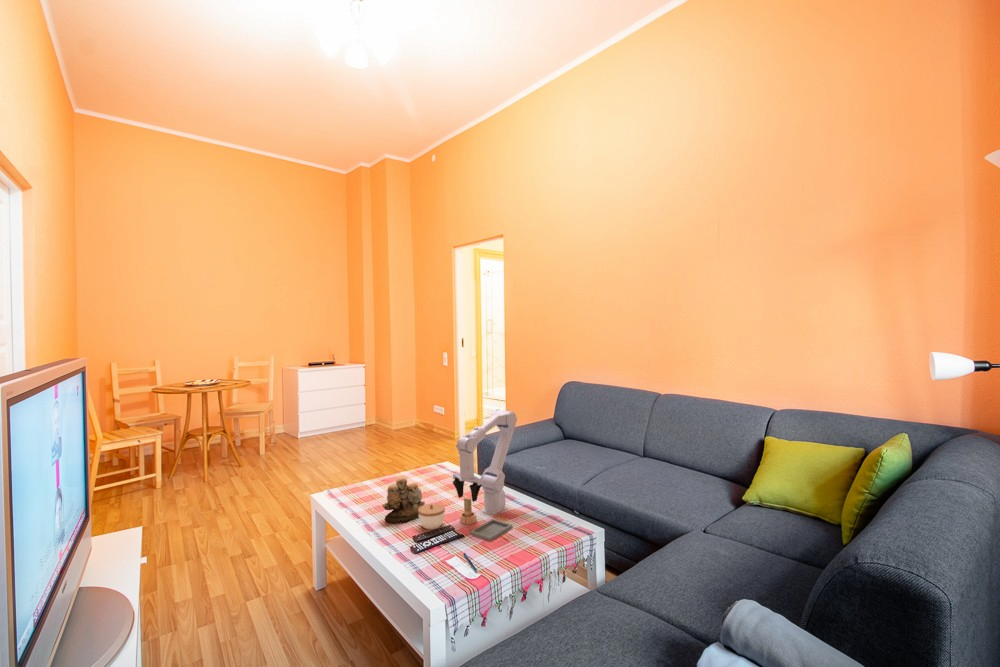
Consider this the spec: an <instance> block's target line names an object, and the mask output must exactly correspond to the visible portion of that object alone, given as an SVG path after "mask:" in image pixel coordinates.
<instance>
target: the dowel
mask: <svg viewBox="0 0 1000 667" xmlns="http://www.w3.org/2000/svg"><path fill="white" fill-rule="evenodd" d="M463 505H464V506H463V509H464V511H463V512H464V517H471V516H472V512H473V510H472V497H465V498H463Z"/></svg>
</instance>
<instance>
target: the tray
mask: <svg viewBox="0 0 1000 667" xmlns="http://www.w3.org/2000/svg"><path fill="white" fill-rule="evenodd" d="M511 529H513V524H511V523H507V522H505V521H501V520H499V519H495V518H491V519H490V520H488V521H486V522H484V523H482V524H481V525H479V526H477V527H475V528H474V529H471V530H470V531H469V535H471V536H474V537H476V538H479V539H482V540H485V541H488V542H492V541H494V540H495V539H497V538H498V537H500V536H502V535H503V534H505V533H506V532H508V531H510V530H511Z"/></svg>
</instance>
